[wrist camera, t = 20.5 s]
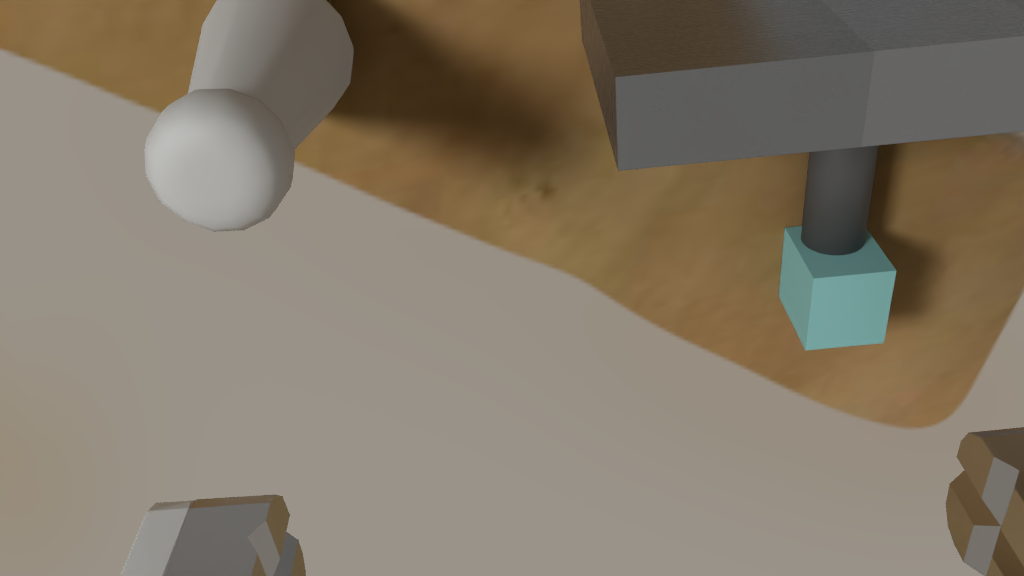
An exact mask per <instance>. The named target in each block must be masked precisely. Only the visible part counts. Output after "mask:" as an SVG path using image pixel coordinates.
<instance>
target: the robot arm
mask: <svg viewBox="0 0 1024 576" xmlns="http://www.w3.org/2000/svg"><path fill="white" fill-rule="evenodd" d="M957 458H958V460H959V461H960V463H961V465H962V467H963V468H964V471H963V472H962V473H961V474H960V475H959V476H958V477H957V478H955V479H954V480H953V481H952V482H951V483H950V485H949V490H948V495H947V500H946V512H947V521H948V528H949V530H950V533H951V536H952V539H953V542H954V545H955V547H956V548H957V550H958V552H959V554H960V556H961V558H962V560H963V562H964V563H966V564H967V565H969V566H970V567H972V568H973V569H975V570H976V571H978V572H979V573H981V574H982V575H984V576H1024V427H1022V428H1012V429H1001V430H991V431H981V432H971V433H968V434H967V435H966V436H965V437H964V438H963V440H962V441H961V443H960V446H959V450H958V454H957ZM289 516H290V514H289V512H288V509H287V507H286V504H285V502H284V499H283V496H279V495H262V496H247V497H230V498H214V499H199V500H195V501H179V502H163V503H155V504H154V505H153V506H152V507H151V508H150V509H149V510H148V512H147V513H146V514H145V516H144V519H143V521H142V524H141V526H140V529H139V531H138V534H137V536H136V539H135V541H134V543H133V546H132V549H131V551H130V554H129V556H128V558H127V561H126V563H125V566H124V568H123V571H122V573H121V576H306V571H305V564H304V558H303V553H302V550H301V547H300V544H299V541H298V539H296V538H295V537H293V536H292V535H290V534H289V533H287V532H286V530H287V526H288V521H289Z"/></svg>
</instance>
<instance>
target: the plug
mask: <svg viewBox="0 0 1024 576" xmlns="http://www.w3.org/2000/svg"><path fill="white" fill-rule="evenodd" d="M878 148H879V145H876V146H866V147H856V148H846V149H835V150H825V151H815V152H809V162H808V171H807V181H806V191H805V201H804V211H803V221H802V226H797V227H787V228H785V232H784V244H783V255H782V266H781V278H780V289H779V297H780V299H781V302H782V304H783V306H784V308H785V310H786V312H787V314H788V316H789V318H790V320H791V322H792V324H793V326H794V328H795V330H796V332H797V334H798V336H799V338H800V340H801V342H802V344H803V346H804V348H805V350H814V349H825V348H835V347H846V346H856V345H867V344H877V343H884V339H885V333H886V328H887V322H888V316H889V311H890V305H891V299H892V294H893V288H894V282H895V276H896V269H895V268H894V266H893V265H892V264H891V262H890V261H889V259H888V258H887V257H886V255H885V254H884V252H883V251H882V249H881V248H880V247H879V245H878V244H877V242H876V241H875V240H874V238H873V237H872V235H871V234H870V233H869V231H868V230H867V223H868V216H869V209H870V202H871V196H872V189H873V182H874V175H875V169H876V162H877V155H878Z"/></svg>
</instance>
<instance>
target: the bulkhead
mask: <svg viewBox="0 0 1024 576" xmlns="http://www.w3.org/2000/svg"><path fill="white" fill-rule="evenodd" d="M580 7H581V26H582V41H583V45H584V48H585V52H586V55H587V59H588V63H589V66H590V70H591V74H592V77H593V81H594V84H595V88H596V92H597V95H598V99H599V103H600V106H601V110H602V113H603V117H604V121H605V124H606V128H607V132H608V135H609V139H610V142H611V146H612V150H613V153H614V157H615V161H616V164H617V168H618V171H620V170H630V169H641V168H651V167H661V166H671V165H682V164H692V163H702V162H712V161H723V160H733V159H743V158H753V157H764V156H774V155H784V154H794V153H805V152H815V151H825V150H835V149H846V148H856V147H866V146H876V145H887V144H897V143H907V142H917V141H928V140H938V139H948V138H958V137H969V136H979V135H989V134H999V133H1010V132H1020V131H1024V0H580Z"/></svg>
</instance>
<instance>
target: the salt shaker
mask: <svg viewBox="0 0 1024 576" xmlns="http://www.w3.org/2000/svg"><path fill="white" fill-rule="evenodd" d="M353 55H354V47H353V45H352V42H351V39H350V37H349V34H348V32H347V29H346V26H345V24H344V21H343V19H342V16H341V15H340V14H339V13H338V12H337V11H336V10H335V9H334V8H333V7H332V6H331V4H330V3H329V2H328V1H327V0H217V1H216V3H215V4H214V6H213V8H212V9H211V11H210V13H209V15H208V16H207V18H206V20H205V21H204V23H203V26H202V30H201V35H200V40H199V44H198V49H197V54H196V58H195V63H194V68H193V72H192V77H191V82H190V87H189V91H188V94H187V95H185V96H183V97H181V98H180V99H178V100H176V101H174V102H173V103H171V104H169V105H168V106H167V107H166V108H165V109H164V110H163V111H162V113H161V114H160V116H159V118H158V120H157V121H156V123H155V125H154V127H153V128H152V130H151V131H150V133H149V135H148V137H147V140H146V144H145V166H146V176H147V178H148V180H149V182H150V184H151V186H152V187H153V189H154V191H155V193H156V195H157V197H158V199H159V201H160V202H161V203H163V204H164V205H165V206H166V207H168V208H169V209H170V210H171V211H173V212H174V213H175V214H176V215H178V216H179V217H180V218H181V219H183V220H184V221H186V222H189V223H192V224H194V225H197V226H200V227H203V228H206V229H209V230H212V231H232V230H233V231H234V230H245V229H247V228H249V227H251V226H253V225H255V224H257V223H259V222H261V221H264V220H265V219H268V218H269V217H270V216H271V214H272V213H273V212H274V211H275V210H276V208H277V207H278V205H279V204H280V202H281V201H282V199H283V198H284V196H285V195H286V193H287V192H288V190H289V189H290V187H291V183H292V178H293V168H294V156H295V149H296V148H297V147H298V146H299V144H300V143H301V142H302V141H303V140H304V139H305V138H306V137H307V136H308V135H309V134H310V133H311V132H312V131H313V130H314V128H315V127H316V126H317V125H318V124H319V123H320V122H321V121H322V120H323V119H324V118H325V117H326V116H327V115H328V114H329V112H330V111H331V110H332V109H333V108H334V107H335V105H336V104H337V102H338V101H339V99H340V98H341V96H342V95H343V93H344V92H345V90H346V89H347V87H348V86H349V84H350V81H351V72H352V64H353Z"/></svg>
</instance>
